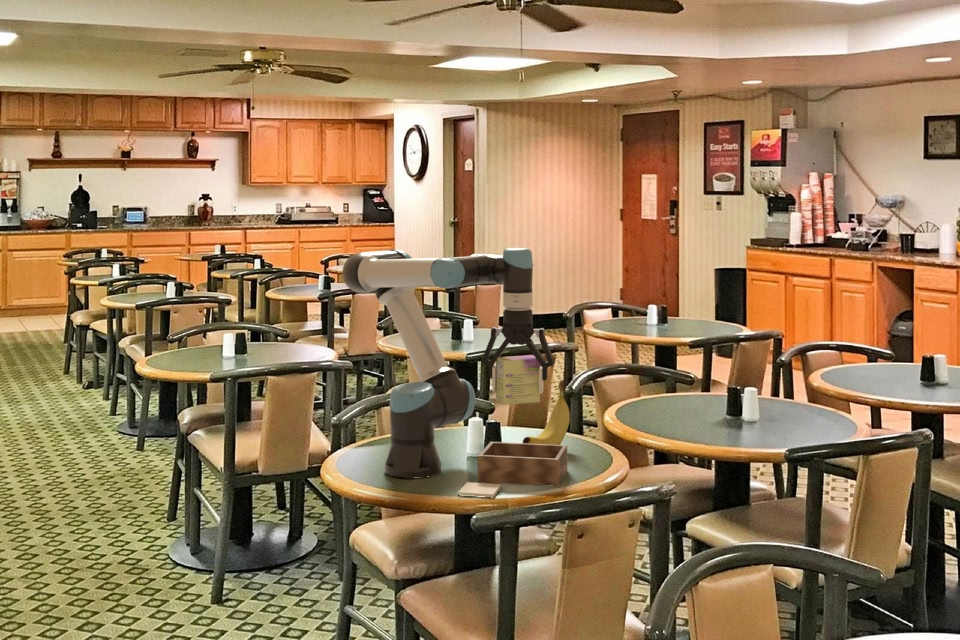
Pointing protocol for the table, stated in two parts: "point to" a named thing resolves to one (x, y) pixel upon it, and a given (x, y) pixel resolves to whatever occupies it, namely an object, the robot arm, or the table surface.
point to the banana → (554, 423)
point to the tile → (480, 489)
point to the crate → (522, 463)
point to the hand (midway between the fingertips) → (517, 391)
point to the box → (517, 380)
